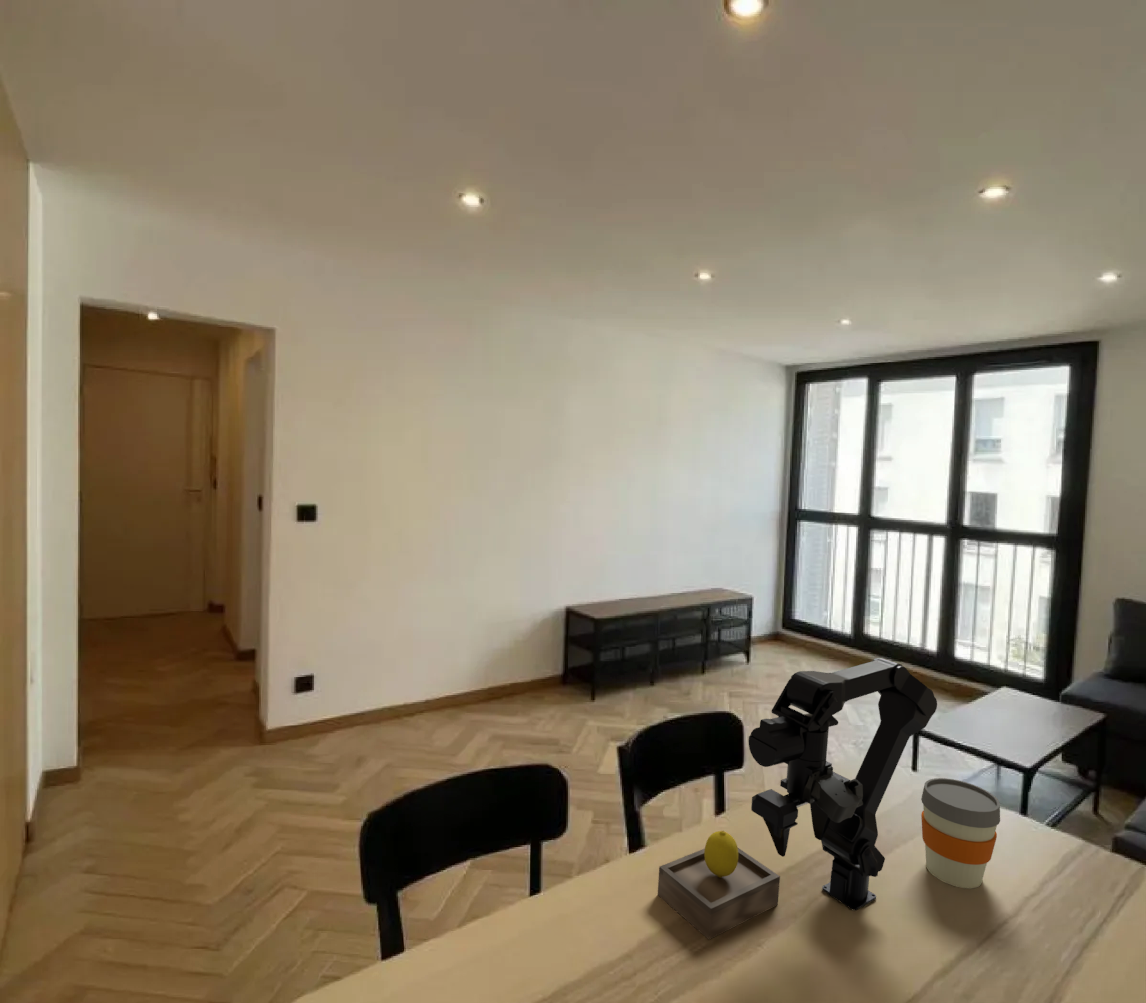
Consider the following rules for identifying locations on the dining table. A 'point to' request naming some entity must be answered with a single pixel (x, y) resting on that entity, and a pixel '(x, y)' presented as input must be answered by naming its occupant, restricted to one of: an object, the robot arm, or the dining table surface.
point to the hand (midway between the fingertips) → (800, 846)
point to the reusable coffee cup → (958, 830)
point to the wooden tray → (717, 892)
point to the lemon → (721, 853)
